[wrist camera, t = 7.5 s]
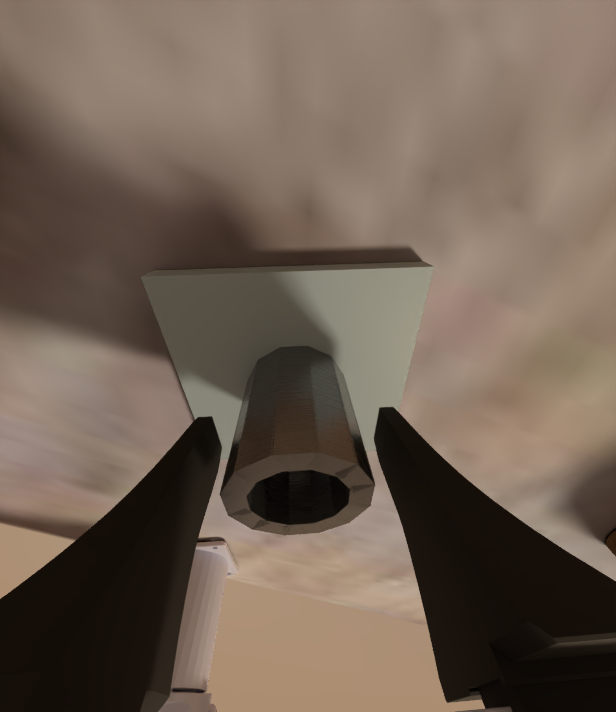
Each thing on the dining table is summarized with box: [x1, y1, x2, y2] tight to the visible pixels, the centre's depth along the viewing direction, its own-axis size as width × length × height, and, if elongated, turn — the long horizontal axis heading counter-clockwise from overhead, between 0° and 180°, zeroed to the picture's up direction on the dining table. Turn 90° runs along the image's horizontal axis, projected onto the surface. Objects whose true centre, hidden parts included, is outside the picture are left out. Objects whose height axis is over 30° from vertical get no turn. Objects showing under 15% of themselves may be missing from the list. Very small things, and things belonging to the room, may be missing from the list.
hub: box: [220, 346, 375, 535], centre depth 11 cm, size 5×5×6 cm
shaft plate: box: [141, 261, 434, 460], centre depth 12 cm, size 12×12×4 cm
